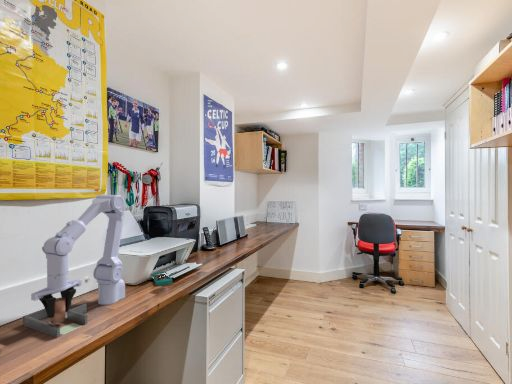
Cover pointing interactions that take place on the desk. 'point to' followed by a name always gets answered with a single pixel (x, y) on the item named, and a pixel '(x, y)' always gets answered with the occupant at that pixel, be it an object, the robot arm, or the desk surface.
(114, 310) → the desk surface
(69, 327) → the board
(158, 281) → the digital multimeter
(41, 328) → the rails
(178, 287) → the desk surface
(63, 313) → the peg
